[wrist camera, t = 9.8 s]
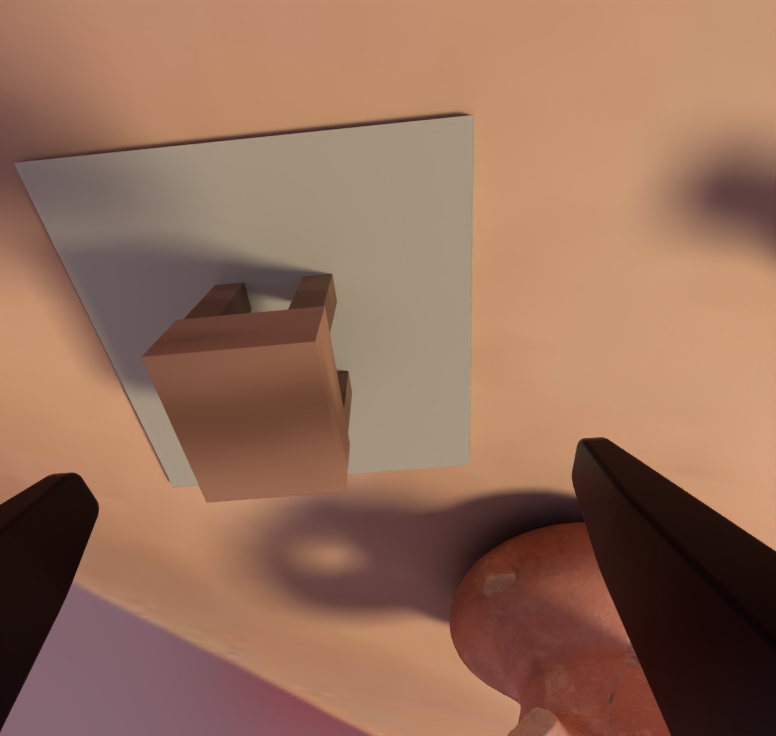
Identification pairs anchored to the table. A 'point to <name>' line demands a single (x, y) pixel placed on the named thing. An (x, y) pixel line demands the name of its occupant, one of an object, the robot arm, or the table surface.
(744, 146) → the table surface
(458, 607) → the ceramic jug
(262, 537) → the table surface
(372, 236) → the sage mat
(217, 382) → the walnut stool
